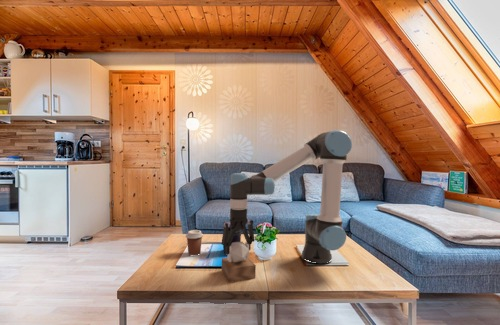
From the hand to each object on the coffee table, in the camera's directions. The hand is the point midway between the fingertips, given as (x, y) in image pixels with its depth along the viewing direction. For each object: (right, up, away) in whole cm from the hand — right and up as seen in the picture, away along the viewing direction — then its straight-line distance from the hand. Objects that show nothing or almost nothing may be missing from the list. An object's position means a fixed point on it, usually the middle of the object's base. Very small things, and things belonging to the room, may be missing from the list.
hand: (238, 259), depth 119 cm
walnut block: (0, -7, 0) cm, 7 cm away
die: (0, -1, 0) cm, 1 cm away
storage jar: (-5, -6, +27) cm, 28 cm away
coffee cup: (-25, -6, +24) cm, 35 cm away
